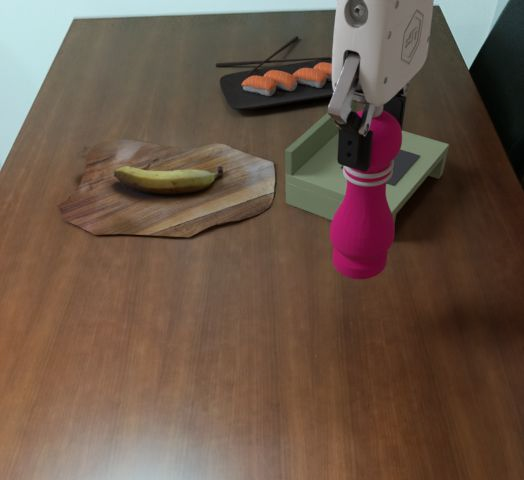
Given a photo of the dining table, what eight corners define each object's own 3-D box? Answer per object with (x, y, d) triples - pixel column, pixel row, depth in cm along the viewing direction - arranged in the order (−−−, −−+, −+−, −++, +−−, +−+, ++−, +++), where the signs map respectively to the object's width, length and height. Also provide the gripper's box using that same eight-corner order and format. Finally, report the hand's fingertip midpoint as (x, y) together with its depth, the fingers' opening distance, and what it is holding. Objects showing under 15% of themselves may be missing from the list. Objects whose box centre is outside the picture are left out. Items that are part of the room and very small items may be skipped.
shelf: (442, 174, 96) (454, 120, 89) (387, 242, 86) (396, 187, 79) (346, 143, 103) (350, 91, 96) (285, 203, 93) (284, 149, 86)
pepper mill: (373, 291, 65) (394, 127, 50) (317, 269, 68) (320, 107, 53) (400, 253, 69) (427, 89, 54) (346, 234, 72) (356, 73, 56)
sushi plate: (231, 120, 110) (229, 100, 107) (204, 52, 128) (201, 34, 125) (377, 96, 113) (379, 76, 110) (329, 33, 132) (330, 15, 129)
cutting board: (42, 235, 90) (34, 215, 87) (92, 139, 107) (86, 120, 104) (267, 243, 87) (266, 222, 84) (281, 143, 104) (281, 123, 101)
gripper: (383, -20, 37) (362, 208, 51) (482, -96, 46) (441, 117, 60) (285, -37, 40) (290, 184, 54) (395, -106, 49) (375, 100, 63)
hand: (370, 147), depth 57 cm, fingers closed on pepper mill, 6 cm apart
